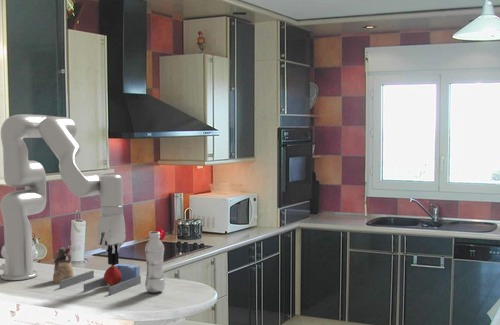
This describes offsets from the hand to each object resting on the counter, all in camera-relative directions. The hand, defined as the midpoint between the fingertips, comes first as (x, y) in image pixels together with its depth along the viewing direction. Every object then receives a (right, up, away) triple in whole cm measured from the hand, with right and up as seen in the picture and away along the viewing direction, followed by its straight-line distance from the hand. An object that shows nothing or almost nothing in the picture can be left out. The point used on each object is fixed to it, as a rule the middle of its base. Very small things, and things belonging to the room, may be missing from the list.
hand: (113, 264), depth 208 cm
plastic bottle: (+15, -9, -6) cm, 18 cm away
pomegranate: (0, -8, +1) cm, 8 cm away
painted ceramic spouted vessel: (-20, -8, +10) cm, 24 cm away
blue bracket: (+3, -8, +7) cm, 11 cm away
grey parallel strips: (-5, -8, +3) cm, 10 cm away
